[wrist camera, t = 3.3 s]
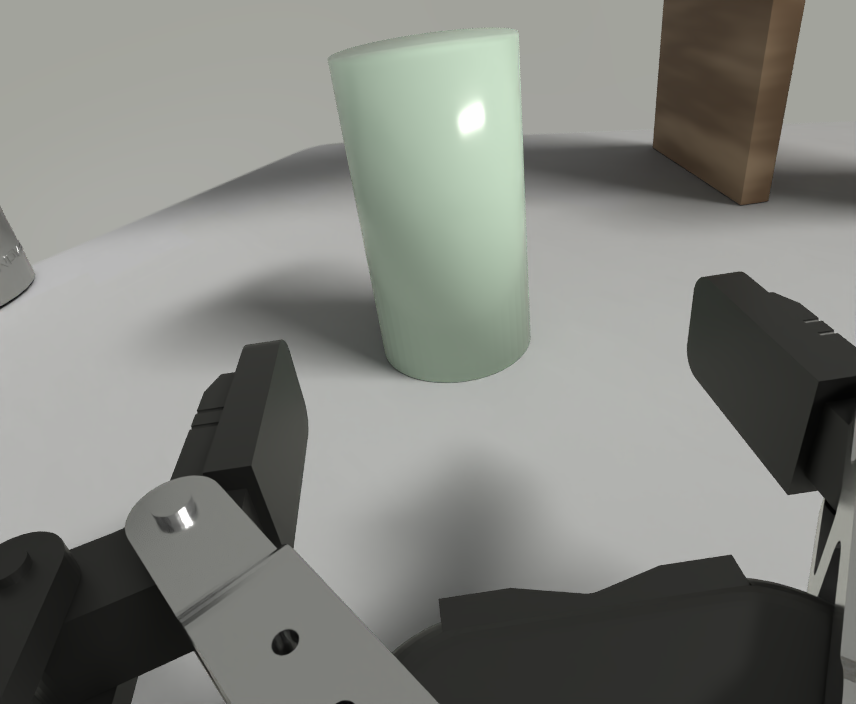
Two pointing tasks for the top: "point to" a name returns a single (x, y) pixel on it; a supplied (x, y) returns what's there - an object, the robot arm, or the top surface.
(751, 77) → the overhanging shelf
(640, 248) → the top surface
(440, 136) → the pillar candle
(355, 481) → the top surface
